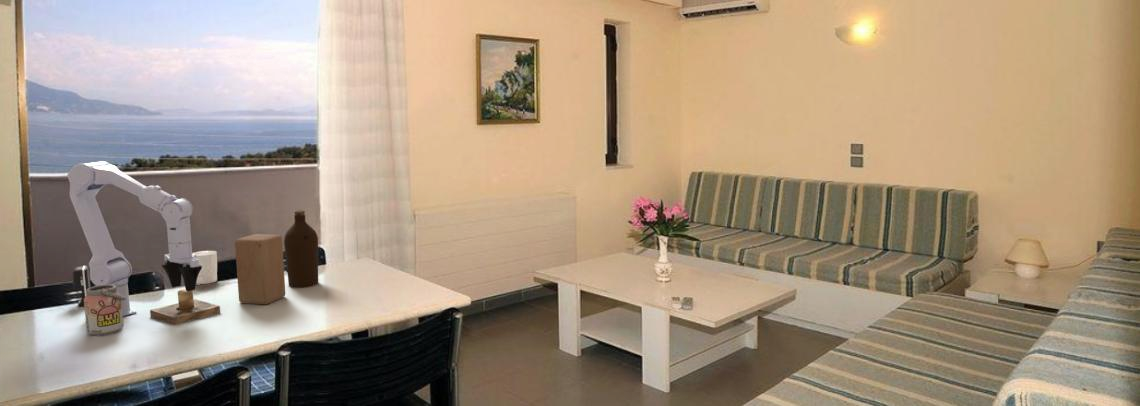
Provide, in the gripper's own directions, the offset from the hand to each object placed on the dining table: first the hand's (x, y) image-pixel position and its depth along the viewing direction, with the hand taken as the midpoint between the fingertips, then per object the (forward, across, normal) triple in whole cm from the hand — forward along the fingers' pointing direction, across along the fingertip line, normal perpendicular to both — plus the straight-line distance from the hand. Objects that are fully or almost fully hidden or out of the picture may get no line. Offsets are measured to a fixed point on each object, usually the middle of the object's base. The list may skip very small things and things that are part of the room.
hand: (183, 288), depth 197 cm
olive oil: (+8, +1, -40) cm, 41 cm away
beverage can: (+8, +3, +19) cm, 21 cm away
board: (+8, 0, 0) cm, 8 cm away
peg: (+8, 0, 0) cm, 8 cm away
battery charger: (+8, +37, +11) cm, 39 cm away
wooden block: (+8, -5, -21) cm, 23 cm away
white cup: (+8, +32, -24) cm, 41 cm away
